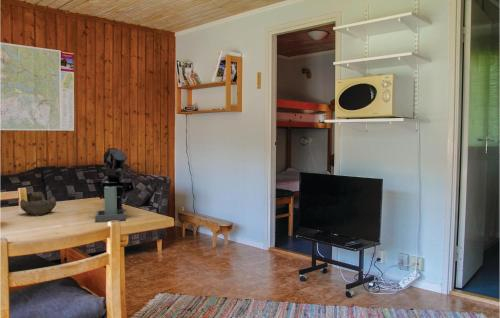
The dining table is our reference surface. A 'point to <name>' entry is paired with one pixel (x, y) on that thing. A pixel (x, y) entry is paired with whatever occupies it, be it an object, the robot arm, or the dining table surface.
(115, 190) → the block
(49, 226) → the dining table surface
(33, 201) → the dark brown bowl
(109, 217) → the tray
